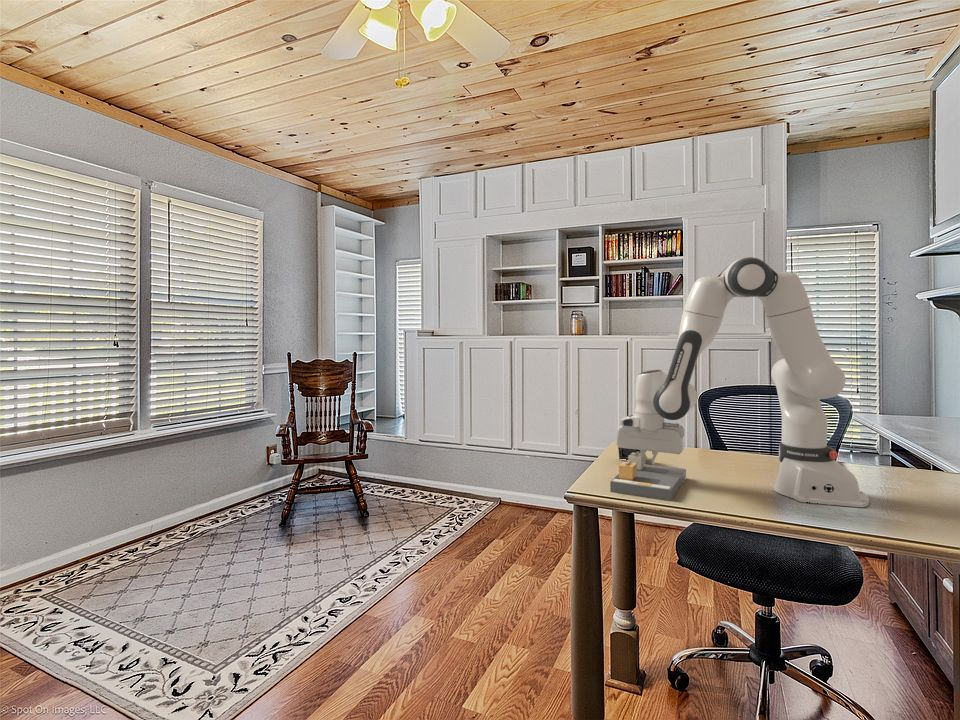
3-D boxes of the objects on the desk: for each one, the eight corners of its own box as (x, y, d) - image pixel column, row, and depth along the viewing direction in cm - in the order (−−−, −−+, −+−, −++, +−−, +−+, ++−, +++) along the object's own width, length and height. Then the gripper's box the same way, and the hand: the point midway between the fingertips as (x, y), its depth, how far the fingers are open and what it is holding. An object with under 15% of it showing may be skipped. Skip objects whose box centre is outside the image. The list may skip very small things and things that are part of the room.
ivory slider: (644, 466, 170) (644, 452, 169) (640, 470, 165) (641, 455, 165) (632, 464, 172) (632, 450, 171) (628, 468, 167) (628, 454, 167)
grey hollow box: (646, 461, 188) (645, 436, 186) (642, 465, 183) (641, 440, 182) (620, 457, 193) (619, 433, 191) (615, 462, 189) (615, 437, 187)
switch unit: (685, 478, 167) (686, 467, 166) (670, 500, 146) (670, 489, 146) (632, 471, 175) (632, 461, 175) (610, 491, 155) (610, 480, 155)
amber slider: (636, 475, 159) (636, 461, 159) (632, 480, 155) (632, 465, 154) (623, 474, 161) (623, 459, 161) (618, 478, 157) (618, 463, 157)
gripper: (686, 422, 163) (685, 466, 164) (620, 416, 173) (620, 458, 174) (682, 425, 157) (681, 471, 158) (614, 420, 168) (614, 462, 169)
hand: (649, 464), depth 166 cm, fingers closed
